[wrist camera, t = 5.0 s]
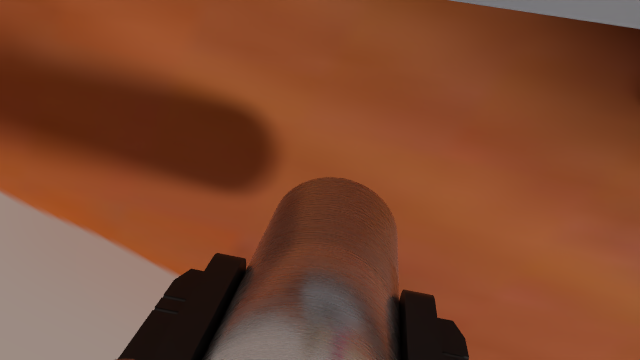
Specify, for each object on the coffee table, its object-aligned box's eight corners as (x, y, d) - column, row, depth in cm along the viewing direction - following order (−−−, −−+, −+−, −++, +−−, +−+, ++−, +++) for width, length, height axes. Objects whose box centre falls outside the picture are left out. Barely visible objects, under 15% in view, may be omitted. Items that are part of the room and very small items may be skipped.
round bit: (409, 190, 13) (452, 642, 4) (384, 296, 15) (375, 780, 6) (277, 166, 14) (55, 542, 5) (267, 273, 15) (89, 701, 6)
